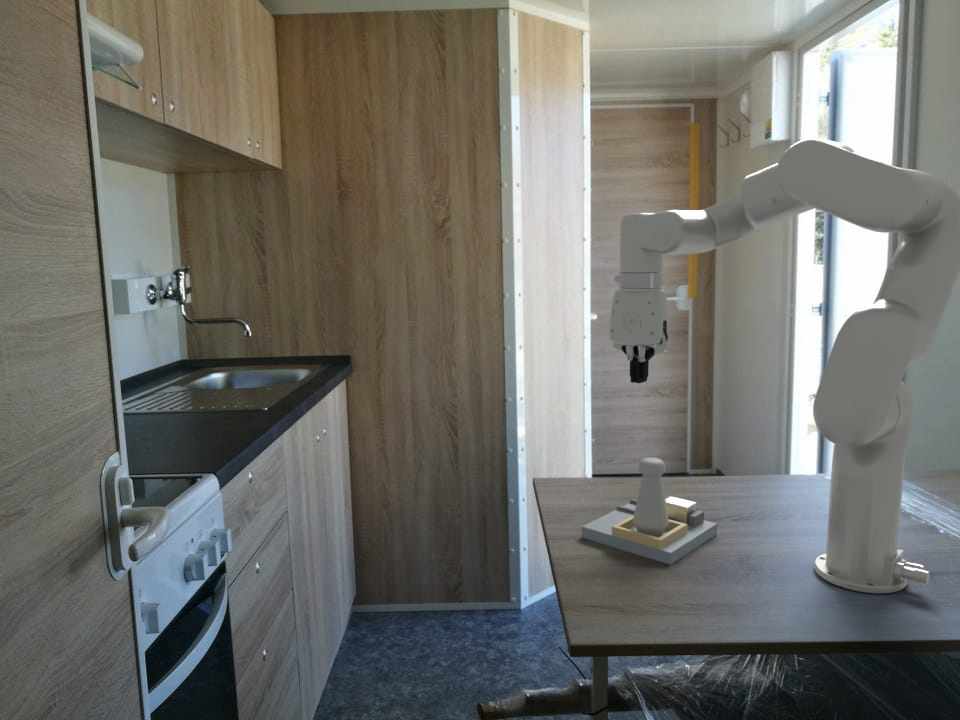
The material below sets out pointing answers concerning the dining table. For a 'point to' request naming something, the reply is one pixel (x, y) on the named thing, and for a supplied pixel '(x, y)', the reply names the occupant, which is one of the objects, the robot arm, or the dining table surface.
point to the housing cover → (680, 509)
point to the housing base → (666, 548)
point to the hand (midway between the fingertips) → (638, 381)
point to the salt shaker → (651, 499)
